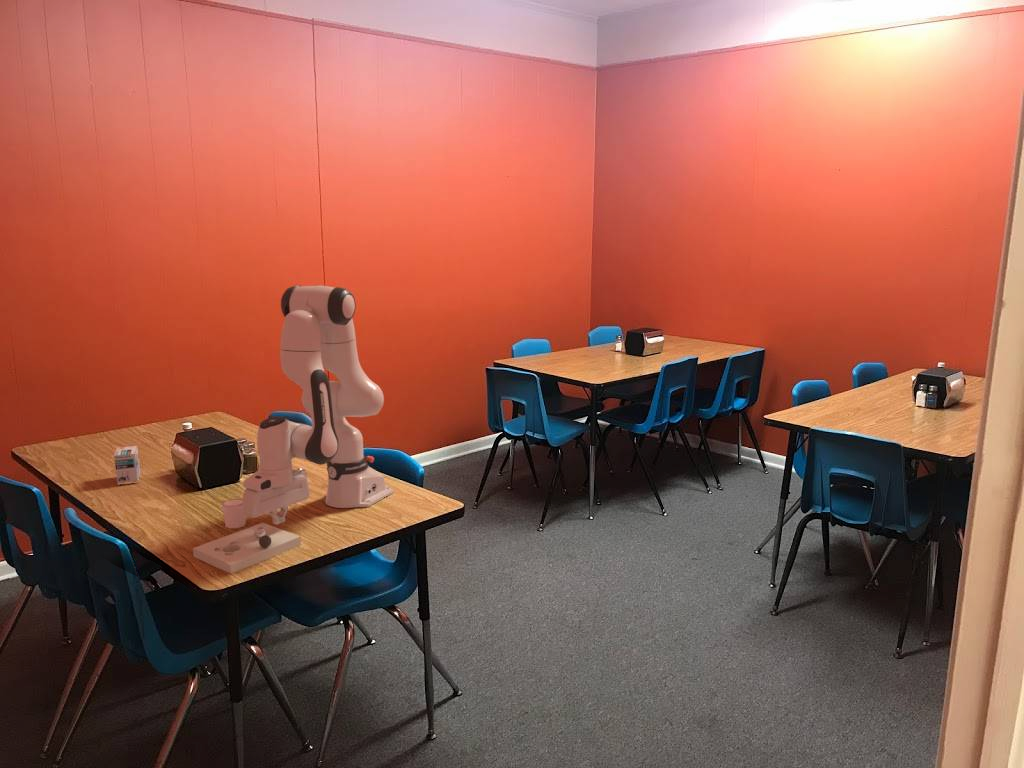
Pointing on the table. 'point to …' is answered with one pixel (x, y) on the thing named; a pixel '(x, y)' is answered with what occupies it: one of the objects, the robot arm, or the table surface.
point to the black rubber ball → (265, 541)
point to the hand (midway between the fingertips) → (279, 522)
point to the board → (245, 548)
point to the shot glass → (234, 513)
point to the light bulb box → (127, 464)
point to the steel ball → (259, 531)
